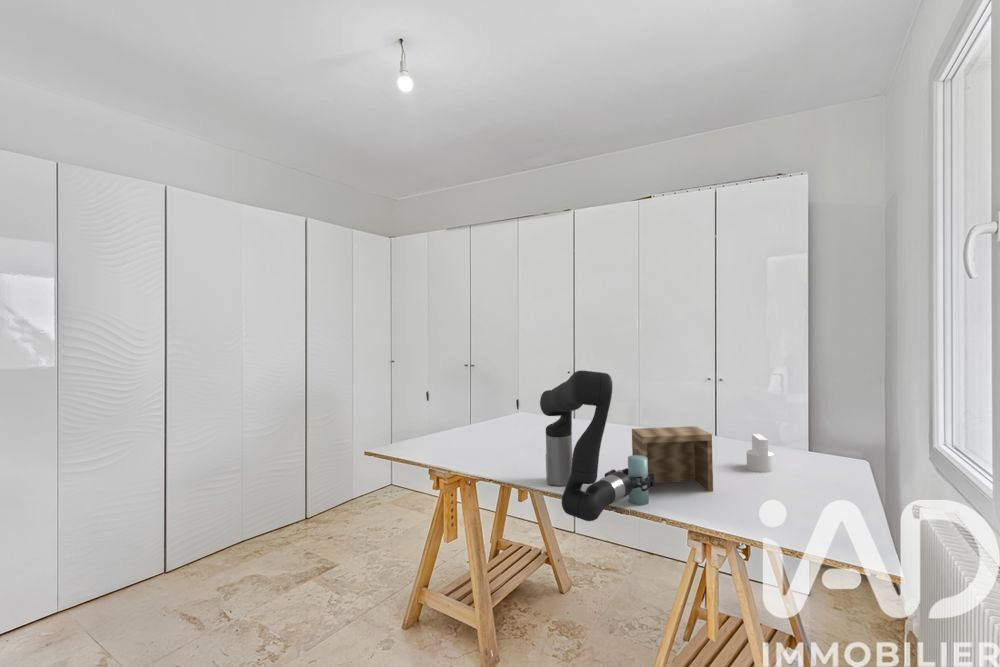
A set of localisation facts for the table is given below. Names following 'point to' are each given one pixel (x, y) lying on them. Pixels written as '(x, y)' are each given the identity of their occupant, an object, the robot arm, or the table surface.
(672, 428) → the open wooden box
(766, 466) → the base with upright slab
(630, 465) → the tumbler
